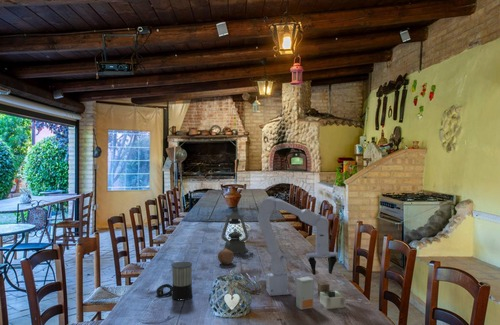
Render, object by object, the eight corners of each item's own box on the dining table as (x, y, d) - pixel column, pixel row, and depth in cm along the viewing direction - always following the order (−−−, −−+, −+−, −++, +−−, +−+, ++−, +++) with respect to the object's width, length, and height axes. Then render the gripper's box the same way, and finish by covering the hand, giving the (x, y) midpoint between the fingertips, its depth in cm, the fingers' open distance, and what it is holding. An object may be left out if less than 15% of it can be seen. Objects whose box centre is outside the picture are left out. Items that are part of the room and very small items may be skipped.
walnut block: (320, 298, 169) (320, 284, 169) (317, 295, 173) (317, 282, 173) (329, 297, 170) (329, 284, 169) (326, 294, 173) (326, 281, 173)
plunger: (322, 297, 167) (322, 287, 167) (330, 296, 168) (330, 286, 168) (328, 302, 161) (328, 292, 161) (336, 302, 161) (336, 292, 161)
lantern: (243, 245, 269) (243, 203, 269) (252, 252, 250) (252, 206, 250) (218, 247, 264) (218, 204, 263) (226, 254, 244) (225, 208, 244)
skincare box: (301, 310, 156) (301, 281, 156) (296, 306, 160) (295, 278, 160) (314, 307, 158) (313, 279, 158) (308, 304, 162) (308, 276, 162)
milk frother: (193, 299, 169) (193, 266, 168) (157, 303, 164) (156, 269, 164) (190, 289, 182) (189, 257, 182) (155, 292, 178) (155, 260, 178)
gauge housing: (319, 301, 165) (319, 291, 165) (337, 300, 166) (336, 290, 166) (326, 308, 157) (326, 298, 157) (344, 307, 159) (344, 296, 158)
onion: (225, 267, 227) (225, 250, 232) (237, 265, 222) (237, 248, 226) (214, 264, 221) (214, 247, 225) (226, 262, 215) (226, 245, 220)
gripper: (309, 246, 167) (309, 277, 167) (340, 245, 169) (340, 275, 169) (304, 242, 174) (304, 272, 174) (334, 241, 176) (334, 270, 176)
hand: (322, 273), depth 172 cm, fingers open, 7 cm apart
